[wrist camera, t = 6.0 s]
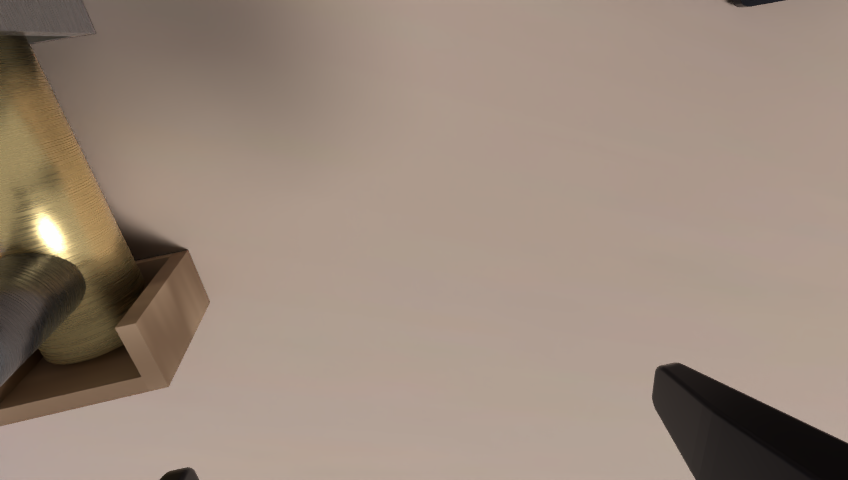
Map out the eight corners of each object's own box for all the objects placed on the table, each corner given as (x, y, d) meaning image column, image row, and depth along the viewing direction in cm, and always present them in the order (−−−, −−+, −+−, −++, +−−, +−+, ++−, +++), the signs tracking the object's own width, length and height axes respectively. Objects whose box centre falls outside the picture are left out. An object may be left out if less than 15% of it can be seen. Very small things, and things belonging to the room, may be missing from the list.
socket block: (41, 280, 18) (-67, 367, 13) (187, 249, 18) (135, 323, 13) (72, 332, 19) (-18, 430, 14) (210, 302, 19) (168, 387, 14)
